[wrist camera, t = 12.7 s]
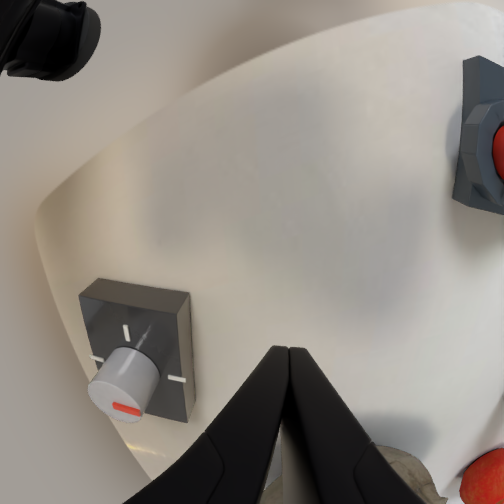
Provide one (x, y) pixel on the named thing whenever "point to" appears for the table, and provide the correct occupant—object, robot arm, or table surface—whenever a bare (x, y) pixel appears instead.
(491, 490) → the apple
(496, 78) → the grey button base
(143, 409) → the hob knob
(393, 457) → the bowl
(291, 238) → the table surface
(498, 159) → the button
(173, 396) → the panel
